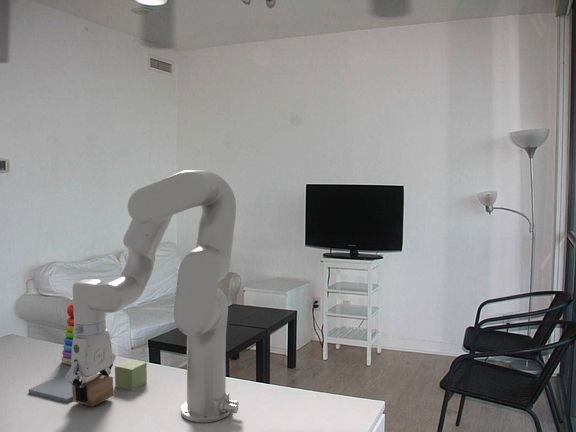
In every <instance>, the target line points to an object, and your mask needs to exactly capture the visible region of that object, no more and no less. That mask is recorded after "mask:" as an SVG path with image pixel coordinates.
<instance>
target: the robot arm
mask: <svg viewBox="0 0 576 432" xmlns="http://www.w3.org/2000/svg"><path fill="white" fill-rule="evenodd" d="M197 207H201V209H202V210H201V211H202V212H201V216H200V220H199V225H198V232H197V233H198V234H197V238H196V239H197V240H196V244H195V247H194V249H192V250H191V251H189V252H188V253H186V255H184V257H183V259H182V261H181V263H180V265H179V270H178V274H177V282H176V289H175V296H174V297H175V298H174V306H173V320H174V323H175V325H176V327H177V329H178V330H179V331H180V332H181V333H182V334H184V335H185V336H186V401H185V402H184V403H183V404H182V405H181V407H180V415H181V416H182V417H183V418H184V419H185V420H187V421H190V422H193V423H213V422H216V421H220V420H223V419H224V418H227V417H228V416H229V415H230V414H237V413H238V411H239V401H238V400H232V399H231V398H230V392H227V391H226V386H227V385H226V383H227V382H226V380H227V379H226V377H227V375H226V373H227V372H226V371H227V370H226V367H227V366H226V362H227V361H226V360H227V358H226V350H227V346H226V345H227V324H228V316H229V303H228V298H227V296H226V294H225V293H224V291H222V289H221V288H219V283H220V282H221V281H222V280H223V279H224V278H225V277H226V276H227V275H228V273H229V271H230V267H231V258H232V257H231V256H232V251H233V250H232V249H233V243H234V242H233V241H234V231H235V223H236V216H237V215H236V213H237V203H236V197H235V194H234V192H233V189H232V187H231V186H230V185H229V183H228V182H227V181H226V180H225V179H224V178H222V177H221V176H220V175H218V174H216V173H214V172H212V171H209V170H204V169H202V170H201V169H200V170H199V169H197V170H192V169H191V170H183V171H180V172H178V173H174V174H172V175H170V176H168V177H165V178H162V179H160V180H157V181H155V182H153V183H150V184H147V185H145V186H142V187H140V188H137V189H136V190H135V191H134V192H133V193H131V196H129V198H128V202H127V212H128V215H129V216H130V218H131V221H130V224H129V226H128V227H127V230H126V232H125V234H124V236H123V239H122V242H123V245H124V246H125V248H127V250H128V258H127V261H126V263H125V266H124V267H123V270H122V272H121V274H120V275H119V277H118V278H115V279H112V280H110V281H108V282H103V281H102V280H101V279H97V278H89V279H88V278H87V279H86V278H84V279H81V280H77V281H76V282H74V283H73V284H72V303H73V310H74V329H73V331H72V332H73V334H75V336H74V337H73V343H72V356H71V364H72V365H71V366H70V368H69V370H68V371H67V372H68V373H67V372H66V373H67V374H66V376H65V378H66V379H67V380H68V381H69V382H70V383H71V384H72V385H73V386H75V392H76V401H79V402H84V403H85V402H87V390H86V386H84V385H85V382H86V379H87V377H89V376H92V375H94V374H101V375H105V376H110V374H111V373H112V372H111V370H112V368H113V366H114V362H115V360H116V357H117V356H116V355H115V353H113V349H112V348H113V347H112V341H111V337H110V332H109V330H108V328H107V326H106V321H107V320H106V313H110V314H111V313H117V312H120V311H121V310H123V309H125V308H126V307H128V306H129V305H132V304H133V303H135V302H137V301H138V300H139V299H140V297H141V296H142V295H143V293H144V291H145V289H146V287H147V284H148V283H149V280H150V278H151V276H152V274H153V270H154V266H155V262H156V253H157V250H158V248H159V245H160V244H161V242H162V239H163V237H164V235H165V232H166V231H167V229H168V227H169V224H170V222H171V221H172V218H173V216H174V215H177V214H178V213H181V212H184V211H186V210H190V209H193V208H197ZM74 375H75V377H74ZM80 376H81V377H82V379H81V382H80V381H79V379H80Z"/></svg>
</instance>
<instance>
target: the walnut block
mask: <svg viewBox="0 0 576 432" xmlns="http://www.w3.org/2000/svg"><path fill="white" fill-rule="evenodd" d="M81 379H82V378H81ZM81 379H79V381H80V382H81ZM84 386H86V390H87V402H85V403H84V402H79V401H76V392H75V386H73V385H72V395H73V400H72V402H74V403H76V404H77V403H78V404H82V405H85V406H89V407H94V406H96V405H98V404H101V403H102V402H104V401H106V400H108V399H109V398H111V397H114V377H113V376H110V375H109V376H105V375H101V374H100V373H96V374H94V375H92V376H89V377H87V379H86V382H85V385H84Z"/></svg>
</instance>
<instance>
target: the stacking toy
mask: <svg viewBox="0 0 576 432" xmlns="http://www.w3.org/2000/svg"><path fill="white" fill-rule="evenodd" d="M66 313H67V315H68V316H69V317H68V318H67V320H66V323H67V325H66V329H65V330H66V331H65V338H64V340H63V342H64V344H63V346H62V347H63V350H62V353H61V354H62V357H61V362H62V363H63V364H65V365H70V366H72V364H71V356H72V343H73V337H74V336H75V334H73V332H72V331H73V329H74V310H73V302H72V303H70V304H69V305H68V306H67V309H66Z"/></svg>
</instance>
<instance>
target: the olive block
mask: <svg viewBox="0 0 576 432" xmlns="http://www.w3.org/2000/svg"><path fill="white" fill-rule="evenodd" d="M147 366H148V365H147V362H146V361H140V360H135V359H130V358H129V359H127V360H125V361H123V362H121V363H119V364H116V365H115V366H114V382H115V383H114V385H115V386H114V387H115V388H119V389H123V390H127V391H131V392H132V391H134V390H136V389H138V388H140V387H141V386H143V385H145V384H147V381H148V380H147V379H148V378H147V377H148V376H147V374H148V372H147V368H148V367H147Z"/></svg>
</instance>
